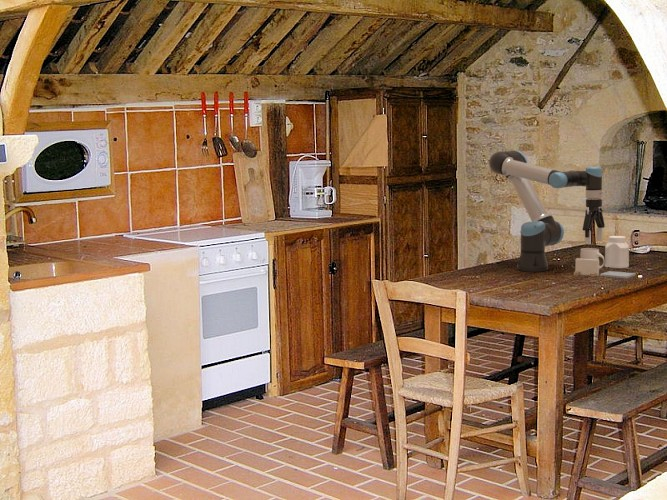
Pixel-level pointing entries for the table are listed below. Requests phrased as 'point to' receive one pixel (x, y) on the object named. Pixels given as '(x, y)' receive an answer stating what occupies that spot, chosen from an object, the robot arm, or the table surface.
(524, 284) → the table surface
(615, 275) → the plate
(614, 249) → the jar
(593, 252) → the mug
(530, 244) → the robot arm
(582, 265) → the beige block
